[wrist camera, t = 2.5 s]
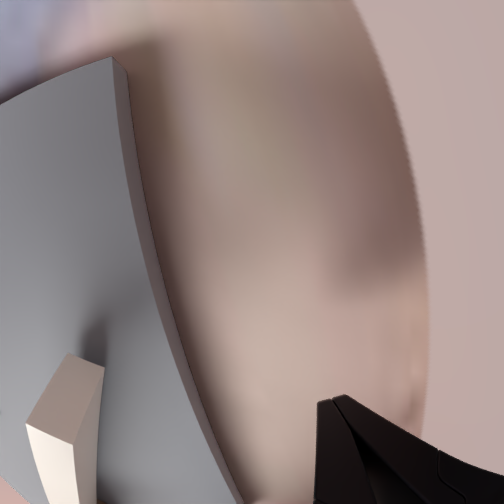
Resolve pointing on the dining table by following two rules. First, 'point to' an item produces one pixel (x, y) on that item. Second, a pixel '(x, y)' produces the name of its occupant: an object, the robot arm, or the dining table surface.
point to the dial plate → (93, 297)
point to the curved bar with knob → (68, 432)
